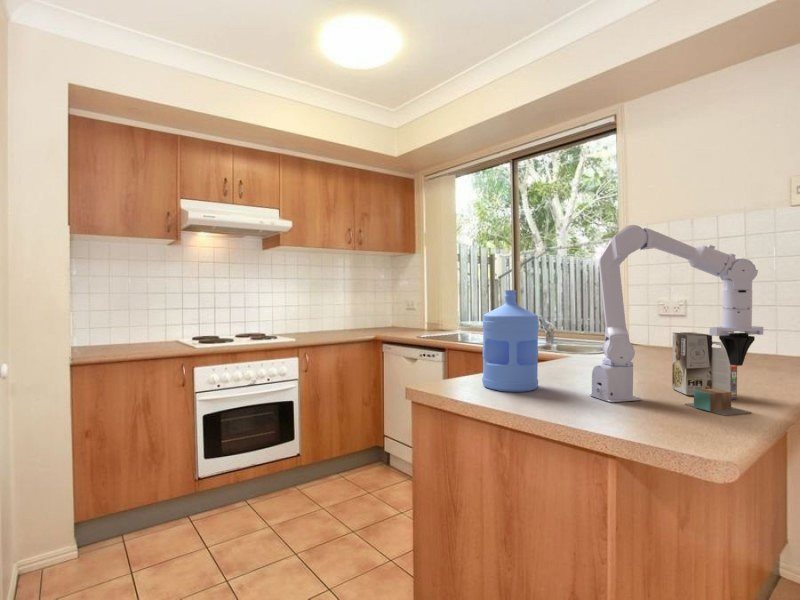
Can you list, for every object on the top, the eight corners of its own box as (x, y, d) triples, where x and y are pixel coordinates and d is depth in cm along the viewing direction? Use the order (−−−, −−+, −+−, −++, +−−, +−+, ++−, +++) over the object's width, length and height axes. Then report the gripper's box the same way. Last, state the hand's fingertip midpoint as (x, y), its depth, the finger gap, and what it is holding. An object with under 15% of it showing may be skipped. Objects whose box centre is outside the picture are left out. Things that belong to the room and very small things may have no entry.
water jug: (480, 380, 139) (481, 290, 139) (532, 382, 138) (533, 290, 137) (484, 391, 124) (484, 290, 123) (543, 393, 122) (544, 290, 122)
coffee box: (712, 396, 118) (713, 335, 118) (685, 395, 119) (686, 334, 119) (696, 389, 127) (696, 331, 127) (671, 388, 128) (671, 331, 128)
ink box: (705, 392, 123) (705, 339, 123) (737, 398, 116) (738, 342, 116) (697, 394, 122) (698, 340, 121) (730, 400, 115) (730, 343, 114)
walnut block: (709, 393, 103) (731, 392, 105) (694, 389, 107) (715, 388, 109) (709, 411, 103) (731, 409, 105) (693, 406, 107) (715, 405, 109)
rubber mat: (724, 415, 100) (724, 414, 100) (684, 404, 110) (684, 403, 110) (751, 413, 103) (751, 411, 103) (710, 402, 112) (710, 401, 112)
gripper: (729, 309, 103) (729, 369, 103) (777, 309, 107) (776, 366, 107) (701, 308, 110) (701, 364, 110) (747, 308, 114) (746, 361, 114)
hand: (736, 365), depth 109 cm, fingers closed
